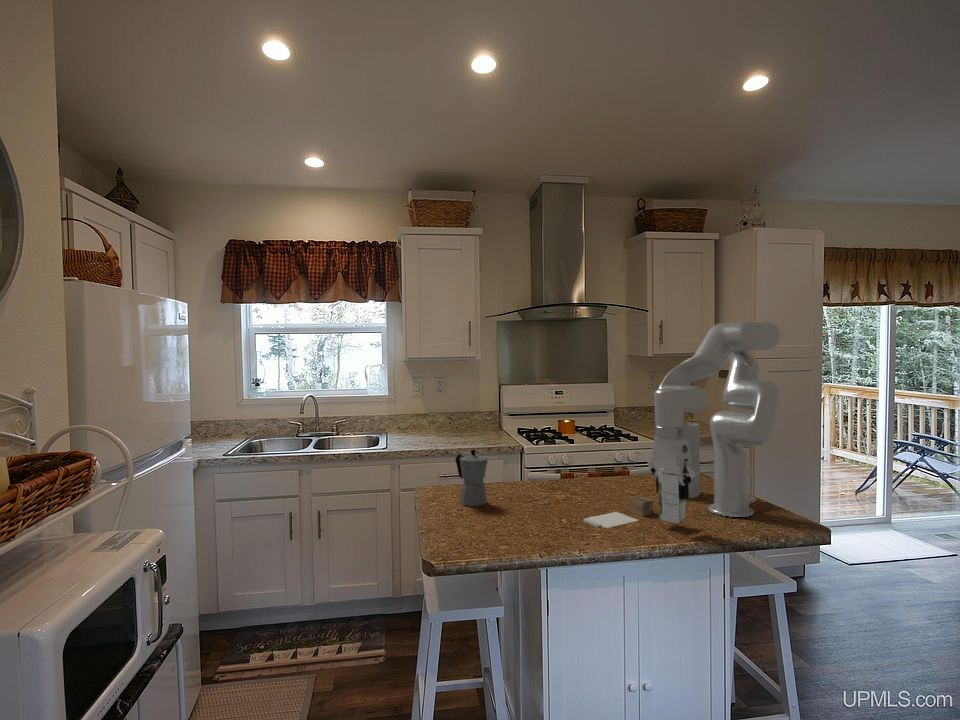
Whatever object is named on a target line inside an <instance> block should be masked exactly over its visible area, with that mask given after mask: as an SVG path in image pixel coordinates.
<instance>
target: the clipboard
mask: <svg viewBox="0 0 960 720" xmlns="http://www.w3.org/2000/svg"><path fill="white" fill-rule="evenodd" d="M638 521H640V519H637V518H634V517H631V516H628V515H626V514H624V513H620V512H618V511H614V512H609V513H605V514H599V515H596V516H590V517H586V518H583V520H582V522H584V523H586V524H588V525H591V526H594V527H595V528H599V527H600V528H601V527H603V528H606V529H608V528H612V527H617V526H622V525H626V524H630V523H631V524H632V523H634V522H635V523H636V522H638Z"/></svg>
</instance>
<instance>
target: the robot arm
mask: <svg viewBox="0 0 960 720" xmlns="http://www.w3.org/2000/svg"><path fill="white" fill-rule="evenodd" d="M780 341H781V332H780V328H779V327H778V326H777V325H776V324H775V323H773V322H769V321H768V322H767V321H765V322H764V321H735V322H722V323H717V324H715V325H713V326H711V327H710V328H709V330H708V331H707V334H706V335H705V336H704V338H703V340H702V341H701V343H700V345H699V346H698V348H697V349H696V351H695V353H694V355H692V356H691V357H689V358H687V359H686V360H684V361H682V362H681V363H679V364H678V365H677V366H675V367H674V368H673V369H671V370H669V372H668V373H667V374H666V375H665V377H664V378H663V380H661V381H662V382H661V383H660V385H659V386H658V389H657V388H656V390H655V391H654V419H655V420H654V422H655V436H654V438H653V445H652V458H651V459H650V460H648V461H647V463H646V464H647V466H648V467H649V469H650V471H651V473H652V475H653V479H655V487H656V488H655V492H656V494H659V485H658V470H659V469H667V470H670V471H671V472H673V473H674V474H675V475H678V476H679V482H680V484H681V485H679V499H680V500H683V499H686V500H688V499H687V498H689V485H688V484H690V483H691V482H692V481H693V480H694V478H695V477H696V475H697V474H698V473H697V471H696V470H695V469H694V468H693V467H692V462H691V454H690V448H689V443H688V440H687V438H685V437H684V435H687V431H685V430H684V422H685V419H684V418H685V416H684V415H685V413H698V412H702V411H703V410H704V409H705V408H706V407H707V406H708V403H709V396H708V393H707V392H706V390H705V389H703V388H702V387H699V386H697V385H689V384H690V383H692V382H695V381H696V382H697V381H699V380H701V379H705V378H709V377H711V376H713V375H716V374H718V373H719V372H720V371H721V370H722V368H723V366H724V365H725V362H726V361H727V359H728V361H729V370H728V373H727V376H726V382H725V385H724V389H723V394H722V401H723V403H724V405H725V406H726V407H728V408H730V409H735V411H734V410H720V411H717V412H714V414H713V415H712V416H711V418H710V420H709V431H710V434H711V440H712V445H713V446H712V449H713V503H711V504H709V505H708V511H709V512H710V513H712V514H714V513H715V514H714V515H717V514H718V516H720V515H722V516H721V517H725V516H729V517H728V518H731V517H748V518H750V517H749V516H752V515H753V514H755V512H754V510H753V509H752V508H751V507H750V506H749V505H751V504H754V503H756V498H755V497H754V496H749V493H748V492H749V490H748V489H749V483H748V482H749V481H748V479H749V477H748V476H749V475H748V474H749V473H748V470H749V469H748V462H749V460H748V454H747V451H746V450H745V447H744V446H743V445H742V444H745V445H752V446H765V445H767V444H768V443H769V442H770V441H771V438H772V436H773V433H774V429H775V425H776V422H777V421H776V420H777V415H778V411H779V407H780V401H781V393H780V389H779V387H778V386H777V384H776V383H775V382H773V381H772V380H768V379H767V380H766V379H759V378H758V377H759V374H760V365H759V363H758V361H757V358H755V356H754V355H753V354H752V353H751V352H750V351H768V350H773V349H775V348H776V347H777V346H778V345H779V343H780ZM737 409H738V410H744V411H736V410H737ZM745 410H746V412H745ZM747 411H753V412H747ZM687 473H689V475H687ZM682 476H683V477H684V479H683V477H682ZM753 516H754V515H753ZM753 516H752V517H753Z"/></svg>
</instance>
